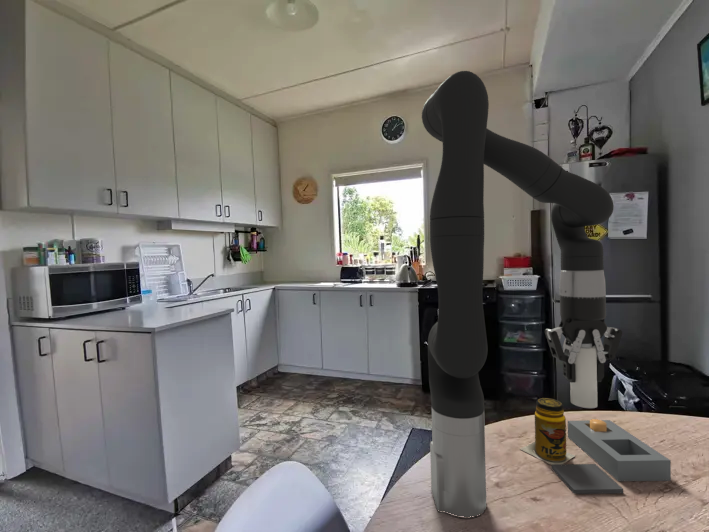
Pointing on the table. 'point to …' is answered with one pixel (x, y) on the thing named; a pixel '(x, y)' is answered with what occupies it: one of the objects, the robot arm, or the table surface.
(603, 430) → the plunger
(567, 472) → the mat
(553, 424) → the condiment
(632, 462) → the block
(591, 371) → the cylinder
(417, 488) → the table surface
